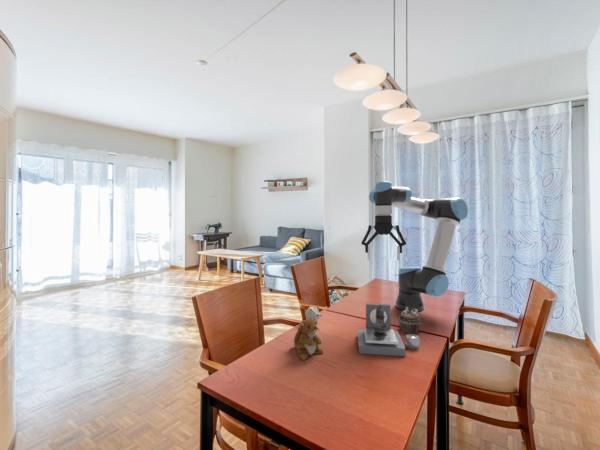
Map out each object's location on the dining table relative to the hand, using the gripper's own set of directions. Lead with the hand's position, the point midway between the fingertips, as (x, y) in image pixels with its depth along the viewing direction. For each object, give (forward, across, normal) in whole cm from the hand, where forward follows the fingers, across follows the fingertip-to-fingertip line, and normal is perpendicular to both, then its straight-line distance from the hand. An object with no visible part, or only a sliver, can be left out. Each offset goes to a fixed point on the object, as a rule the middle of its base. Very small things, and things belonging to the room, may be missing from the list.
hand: (383, 259), depth 137 cm
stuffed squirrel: (+32, +33, +30) cm, 55 cm away
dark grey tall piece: (+27, +4, +22) cm, 35 cm away
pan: (+29, +4, +23) cm, 37 cm away
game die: (+32, +34, 0) cm, 47 cm away
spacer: (+32, -9, +20) cm, 39 cm away
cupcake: (+32, -11, +3) cm, 34 cm away
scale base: (+32, +4, +21) cm, 38 cm away
